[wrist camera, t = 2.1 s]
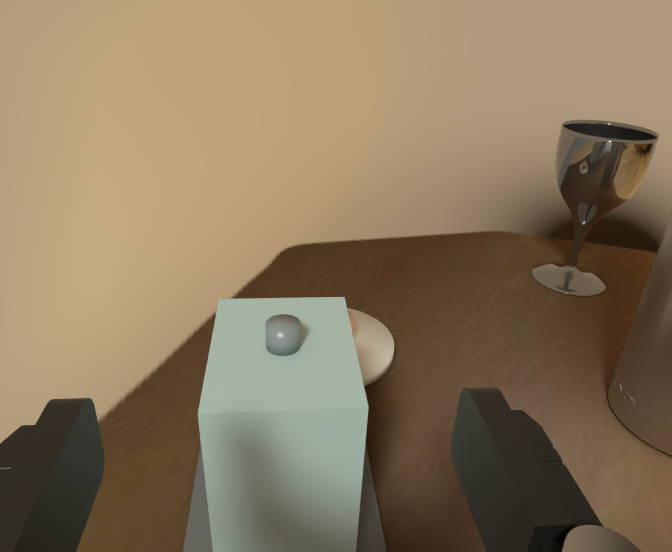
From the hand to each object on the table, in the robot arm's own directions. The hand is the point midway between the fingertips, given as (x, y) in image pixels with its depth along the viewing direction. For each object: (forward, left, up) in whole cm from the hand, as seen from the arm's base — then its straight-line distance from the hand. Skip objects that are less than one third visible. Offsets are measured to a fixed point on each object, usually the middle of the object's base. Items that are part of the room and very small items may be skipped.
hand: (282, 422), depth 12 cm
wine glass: (-29, -36, -17) cm, 49 cm away
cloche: (0, -11, -16) cm, 20 cm away
